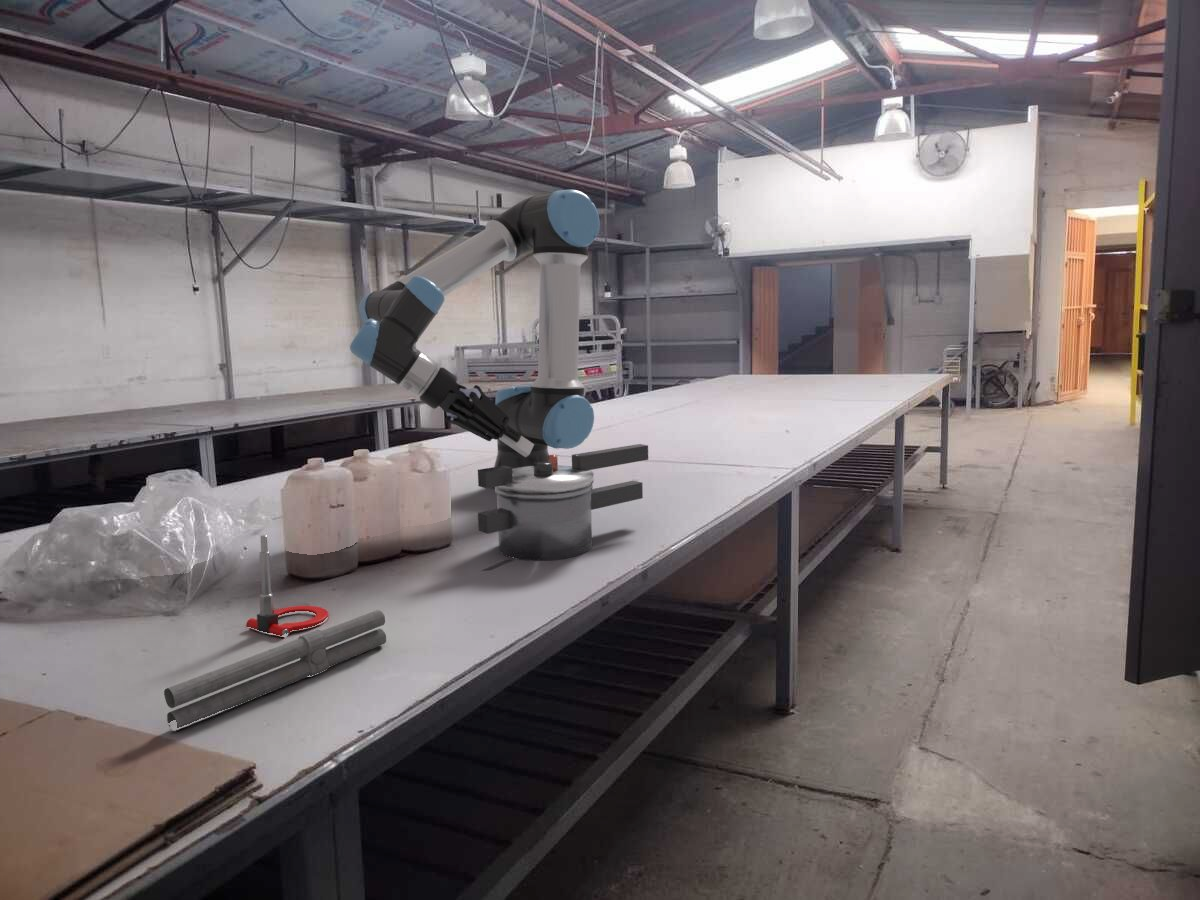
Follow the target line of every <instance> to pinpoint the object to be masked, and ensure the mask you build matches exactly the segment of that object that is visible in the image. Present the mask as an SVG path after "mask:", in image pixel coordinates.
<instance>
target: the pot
mask: <svg viewBox="0 0 1200 900" xmlns="http://www.w3.org/2000/svg"><path fill="white" fill-rule="evenodd" d="M593 484H594V483H592V484H591V485H590V486H587V487H585V488H581V489H577V490H572V491H566V492H558V493H541V494H530V493H515V492H508V491H503V490H500V489H497V488H494V493H495V494H496V505H497V508H494V509H490V510H485V511H481V512H477V522H478V523H477V524H478V525H477V527H478V531H479V532H480V533H484V534H487V535H489V534H493V533H498V550H500V551H499V552H500V553H501V552H502V553H503V554H502V553H501V554H502V555H503V556H506V555H507V556H506V557H508V556H510V557H509V558H511V557H514V558H513V559H515V558H517V559H516V560H523V561H534V562H535V561H537V562H539V561H540V562H541V561H557V560H565V559H569V558H574V557H578V556H580V555H583V554H586V553H587V552H588V551H590V550H591V549H592V547H593V529H592V528H593V527H592V524H593V521H592V510H597V509H602V508H606V507H610V506H615V505H618V504H624V503H627V502H628V503H629V502H633V501H636V500H641V499H643V492H644V489H643V482H641V481H636V480H630V481H629V480H628V481H625V482H620V483H615V484H611V485H605V486H601V487H596V488H593Z"/></svg>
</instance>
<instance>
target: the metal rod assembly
mask: <svg viewBox="0 0 1200 900" xmlns="http://www.w3.org/2000/svg"><path fill="white" fill-rule="evenodd" d="M385 623H386V616H385V614H384V612H383V611H381V610H380V609H376V610H373V611H372V612H368V613H365V614H362V615H361V616H358V617H355V618H352V619H349V620H347V621H345V622H342V623H340V624H337V625H334V626H330V627H328V628H325V629H322V630H320V629H317V630H316V629H315V630H313V631H309V632H307V633H305V634H304V633H303V634H302V635H299V636H298V637H297V638H296V639H294V640H291V641H289V642H286V643H284V644H282V645H278V646H276V647H273V648H270V649H267V650H266V651H262V652H260V653H257V654H255V655H252V656H250V657H246V658H245V659H241V660H239V661H236V662H233V663H230V664H228V665H226V666H223V667H220V668H217V669H215V670H214V669H213V670H212V671H210V672H207V673H204V674H201V675H198V676H196V677H193V678H191V679H188V680H185V681H183V682H180V683H178V684H175V685H172V686H169V687H167V688H165V689H164V691H163V696H164V700H165V703H166V705H167V707H168V708H170V709H174V708H176V707H179V706H181V707H179V708H176V709H174V710H172V711H169V712H167V714H166V716H167V717H166V721H167V724H168V723H170V722H171V721H173V720H176V722H177V728H179V727H182V726H184V725H187V724H190V723H192V722H194V721H197V720H199V719H201V718H205V717H207V716H210V715H212V714H215V713H217V712H219V711H222V710H225V709H228V708H231V707H233V706H236V705H239V704H241V703H244V702H246V701H248V700H251V699H253V698H255V697H258V696H260V695H263V694H265V693H268V692H270V691H272V692H274V691H273V690H275V689H277V690H279V689H278V688H280V687H282V688H284V687H286V686H285V685H287V686H289V685H291V684H290V683H292V682H294V683H296V682H298V681H297V680H299V679H301V680H303V679H305V678H304V677H306V678H307V676H309V675H310V676H312V675H315V674H317V673H320V672H322V671H324V670H326V669H327V670H329V668H330V667H329V666H331V667H333V666H335V665H337V664H336V663H338V664H339V662H340V663H342V662H345V661H347V660H349V659H351V657H352V658H354V657H356V656H359V655H360V654H363V653H366V652H368V651H370V649H371V650H373V649H375V648H377V646H378V647H380V646H383V645H385V644H386V643H387V635H386V634H387V633H386V632H385V631H384V630H383V629H382V628H381V626H384V624H385ZM379 627H380V628H379ZM369 631H370V632H369ZM364 633H365V634H364ZM344 641H345V642H344ZM382 644H383V645H382ZM358 654H359V655H358ZM355 655H356V656H355ZM353 656H354V657H353ZM348 658H349V659H348ZM346 659H347V660H346ZM344 660H345V661H344ZM293 661H294V662H293ZM341 661H342V662H341ZM288 663H289V664H288ZM334 664H335V665H334ZM332 665H333V666H332ZM280 666H282V667H280ZM275 668H277V669H275ZM273 669H274V670H273ZM271 670H272V671H271ZM327 670H326V671H327ZM324 672H325V671H324ZM263 673H264V674H263ZM322 673H323V672H322ZM260 674H262V675H260ZM257 675H259V676H257ZM253 677H254V678H253ZM250 678H251V679H250ZM302 678H303V679H302ZM248 679H249V680H248ZM245 680H247V681H245ZM295 681H296V682H295ZM299 681H300V680H299ZM240 682H241V683H240ZM237 683H239V684H237ZM234 684H236V685H234ZM288 684H289V685H288ZM292 684H293V683H292ZM232 685H234V686H232ZM230 686H232V687H230ZM283 686H284V687H283ZM227 687H229V688H227ZM224 688H226V689H224ZM222 689H224V690H222ZM280 689H281V688H280ZM220 690H221V691H220ZM217 691H219V692H217ZM275 691H276V690H275ZM212 693H214V694H212ZM270 693H271V692H270ZM210 694H212V695H210ZM268 694H269V693H268ZM208 695H209V696H208ZM265 695H266V694H265ZM205 696H207V697H205ZM263 696H264V695H263ZM201 697H204V698H202V699H200V698H201ZM260 697H261V696H260ZM258 698H259V697H258ZM196 699H199V700H196ZM193 700H194V701H193ZM195 700H196V701H195ZM253 700H254V699H253ZM251 701H252V700H251ZM189 702H192V703H189ZM248 702H249V701H248ZM186 703H189V704H187V705H184V704H186ZM246 703H247V702H246ZM244 704H245V703H244ZM182 705H184V706H182ZM241 705H242V704H241ZM239 706H240V705H239ZM236 707H237V706H236Z"/></svg>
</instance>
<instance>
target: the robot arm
mask: <svg viewBox="0 0 1200 900" xmlns="http://www.w3.org/2000/svg"><path fill="white" fill-rule="evenodd" d="M600 225H601V223H600V216H599V212H598V210H597V207H596V205H595V203H593V201H592V200H591V198H590V197H589V196H588V195H587V194H585V193H584V192H583V191H580V190H576V189H565V190H564V189H558V190H555V191H554V192H552V191H551V192H549V193H542V194H539V195H533V196H530V197H528V198H525V199H523V200H521V201H519V202H517V203H516V204H514V205H512V206H511V207H509V208H508V209H506V210H505V211H503V212H502V213H500V214H499V215H497V216H496V217H494V218H493V219H491V220H489V221H488V222H486V224H485V229H483V230H480V232H479V233H476V234H475V235H473V236H471V237H469V238H468V239H466V240H464V241H463V242H461V243H459V244H458V245H456V246H454V247H452V248H451V249H449V250H447V251H445V252H444V253H442V254H440V255H439V256H437V257H435V258H434V259H432V260H430V261H428V262H426V263H425V264H423V265H422V266H420V267H419V268H416V269H415V270H414V271H412V272H409V273H408V274H406V275H404V276H403V277H401V278H400V279H397V280H396V281H395V282H393V283H390V284H389V285H388V286H386V287H384V288H383V289H381V290H375V291H374V290H373V291H372V292H369V293H367V294H366V295H364V296H363V297H362V299H361V300H360V302H359V306H358V312H359V315H360V318H361V320H362V321H363V322H364V325H362V327H361V328H360V329H359V331H358V333H357V334H356V336H354V338H353V340H352V341H351V343H350V345H349V350H350V352H351V354H353V355H355V356H356V357H357V358H359V360H361V361H362V362H364V363H365V364H366V365H367V366H370V368H372V369H373V370H375V371H377V372H379V373H380V374H382V375H383V376H385V377H386V378H388V379H389V380H390V381H392V382H394V383H395V384H396V385H399V386H400V387H401V388H402V389H404V391H407V392H408V393H410V394H411V395H413V396H414V397H416V396H419V400H420V401H421V402H423V403H424V404H426V405H427V406H429V407H430V408H431V409H434V410H435V409H437V408H439V407H440V408H441V410H442V411H443V412H444V413H445V414H446V417H445V419H444V421H445V422H446V423H449V424H452V425H455V426H458V427H460V428H462V429H463V430H466V431H468V432H469V433H472V434H473V435H475V436H478V437H479V438H481V439H483V440H485V441H487V442H491V441H492V440H496V442H497V453H496V454H497V455H496V458H495V462H494V466H493V467H498V466H508V467H512V469H513V468H519V467H527V466H534V463H535V462H544V461H545V462H548V455H550V454H549V450H548V449H549V448H548V447H550V448H553V449H557V450H559V449H565V450H567V449H574V448H576V447H578V446H580V445H582V443H584V441H585V440H586V439H588V438H589V436H590V434H591V432H592V430H593V427H594V423H595V422H594V421H595V411H594V409H593V406H592V404H590V401H589V400H588V399H586V398H585V385H584V384H583V382H581V381H580V380H579V377H578V376H579V373H578V372H579V371H578V370H579V337H580V336H579V334H580V300H581V297H580V295H581V267H582V265H583V263H585V261H587V259H588V258H589V246H590V245H591V244H593V242H594V241H595V239H596V238H597V237H598V235H599V232H600ZM530 253H532V254H533V255H532V257H533V258H534V259H535V260H536V262H538V263H539V265H540V267H539V269H540V270H539V307H538V308H539V311H538V312H539V313H538V315H539V317H538V318H539V319H538V321H539V322H538V355H537V356H538V359H537V360H538V361H537V370H538V371H537V373H538V374H537V378H536V379H535V380H534V381H533V382H532V383H531V385H521V386H513V387H505V388H500V389H498V390H497V391H496V393H495V400H494V401H495V402H494V401H492V399H490V398H489V397H488V396H487V394H485V393H484V392H483V390H482V388H481V386H479V385H474V386H473V387H472V388H467V387H466V386H464V385H462V384H460V383H458V382H457V378H458V377H457V375H455V374H453V373H452V372H451V371H449V370H447V369H446V368H445V367H439V363H438V362H437V361H435V360H434V359H432V358H431V357H430V356H428V355H426V354H425V353H423V352H422V351H421V350H419V349H418V348H416V347H415V345H416V343H418V341H419V339H420V338H421V336H422V335H423V334H424V332H425V331H426V329H427V328H428V327H429V325H430V324H431V323H432V321H433V319H434V318H435V317H436V315H438V314H439V311H440V309H441V308H442V306H443V304H444V302H445V297H446V296H448V295H449V294H451V293H453V292H454V291H455V290H457V289H458V288H461V287H462V286H464V285H466V284H467V283H469V282H470V281H472V280H474V279H475V278H477V277H478V276H480V275H482V274H484V273H485V272H487V271H489V270H490V269H492V268H493V267H495V266H496V265H498V264H500V263H501V262H503V261H505V262H512V261H513V260H516V259H517V258H518V257H521V256H524V255H526V254H530ZM492 488H494V489H495V487H492Z"/></svg>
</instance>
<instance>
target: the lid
mask: <svg viewBox="0 0 1200 900" xmlns="http://www.w3.org/2000/svg"><path fill="white" fill-rule="evenodd" d="M558 459H559V458H558V455H557V454H549V455H548V462H545V461H544V462H535V463H534V466H527V467H519V468H513V469H512V467H508V466H498V467H494V466H493V467H487V468H481V469H477V482H478V484H477V486H478V487H479V488H484V489H490V488H493V487H495V488H497V489H500V490H503V491H508V492H515V493H530V494H541V493H558V492H566V491H572V490H577V489H581V488H585V487H587V486H590V485H591V484H594V481H595V480H594V479H595V478H594V474H595V473H594V471H592V470H598V469H603V468H609V467H615V466H620V465H626V464H630V463H631V464H632V463H636V462H637V463H638V462H643V461H648V460H649V445H648V444H641V443H638V444H632V445H631V444H630V445H625V446H619V447H612V448H611V447H610V448H605V449H599V450H593V451H587V452H581V453H574V454H571V465H558V461H559V460H558ZM495 488H494V489H495Z"/></svg>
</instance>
